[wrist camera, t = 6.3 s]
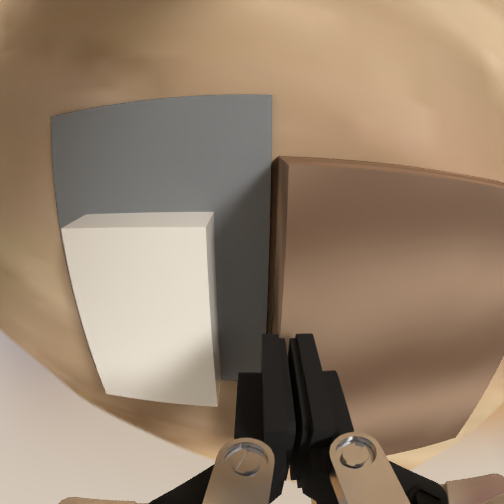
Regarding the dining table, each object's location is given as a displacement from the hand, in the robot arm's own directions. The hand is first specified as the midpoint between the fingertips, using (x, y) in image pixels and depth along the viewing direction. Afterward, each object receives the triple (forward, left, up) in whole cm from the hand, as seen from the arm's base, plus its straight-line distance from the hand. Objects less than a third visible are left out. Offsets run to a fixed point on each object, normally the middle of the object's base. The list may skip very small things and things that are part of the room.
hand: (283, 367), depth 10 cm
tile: (0, -6, -2) cm, 6 cm away
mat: (-2, -5, -5) cm, 7 cm away
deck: (+1, +6, -5) cm, 8 cm away
